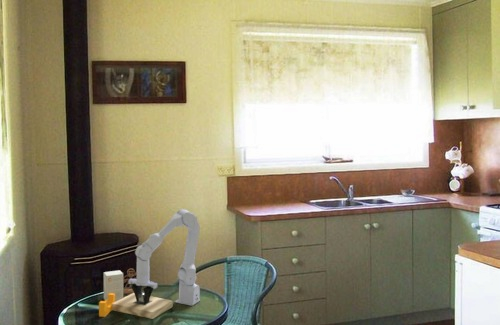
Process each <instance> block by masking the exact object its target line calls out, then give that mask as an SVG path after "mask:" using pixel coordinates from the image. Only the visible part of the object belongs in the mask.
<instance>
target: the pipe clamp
mask: <svg viewBox="0 0 500 325" xmlns="http://www.w3.org/2000/svg"><path fill="white" fill-rule="evenodd" d="M114 302H116V301H115V293H109V294H108V300H105V299H104V300H100V301H99V302H98V317H100V318H101V317H104V318H105V317H107V315H108V314H109V313H110V312H112V311H113V310H112V303H114Z"/></svg>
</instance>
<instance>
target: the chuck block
mask: <svg viewBox="0 0 500 325" xmlns="http://www.w3.org/2000/svg"><path fill="white" fill-rule="evenodd" d="M173 304H174V301H173V300H172V299H168V298H161V297H157V296H153V295H151V296H150V299H149V302H147V303H146V304H139V301H136V297H135V294H134V293H130V294H128V295H127V296H123V298H122V299H120V300H118V301H115V302H114V303H112V310H111V311H116V312H119V313H124V314H129V315H132V316H133V315H134V316H137V317H143V318H147V319H151V320H154V319H155V318H156V317H158V316H160V315H162V314H164V313H165V312H167V311H168V310H170V309H172V308H173V307H174V306H173Z"/></svg>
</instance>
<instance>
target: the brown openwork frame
mask: <svg viewBox="0 0 500 325" xmlns="http://www.w3.org/2000/svg"><path fill="white" fill-rule="evenodd" d="M126 273H127V274H126V275H125V276H123V284H124V283H126V282H127V283H126V285H125V287H123V295H125V294H128V295H130V294H132V293H134V291H133V290H132V288H130V287H131V286H133V284H129V281H128V279H137V271H135V269H134V268H128V269H127V271H126ZM135 276H136V277H135ZM126 277H129V278H126ZM133 277H134V278H133ZM125 278H126V279H125ZM128 285H129V286H128Z"/></svg>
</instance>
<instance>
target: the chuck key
mask: <svg viewBox="0 0 500 325" xmlns="http://www.w3.org/2000/svg"><path fill="white" fill-rule="evenodd" d="M138 298H139V304H146V303H145V293H144V290H143V291H141V293H139V294H138Z"/></svg>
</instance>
